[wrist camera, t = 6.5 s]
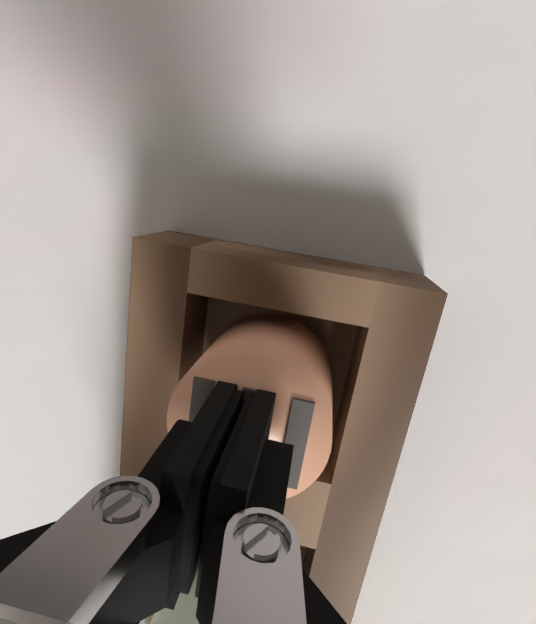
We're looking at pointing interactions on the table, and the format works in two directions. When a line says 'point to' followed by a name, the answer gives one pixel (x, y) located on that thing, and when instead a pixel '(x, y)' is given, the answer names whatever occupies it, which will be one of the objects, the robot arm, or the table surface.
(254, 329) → the button
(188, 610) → the button
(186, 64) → the table surface
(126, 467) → the button board
